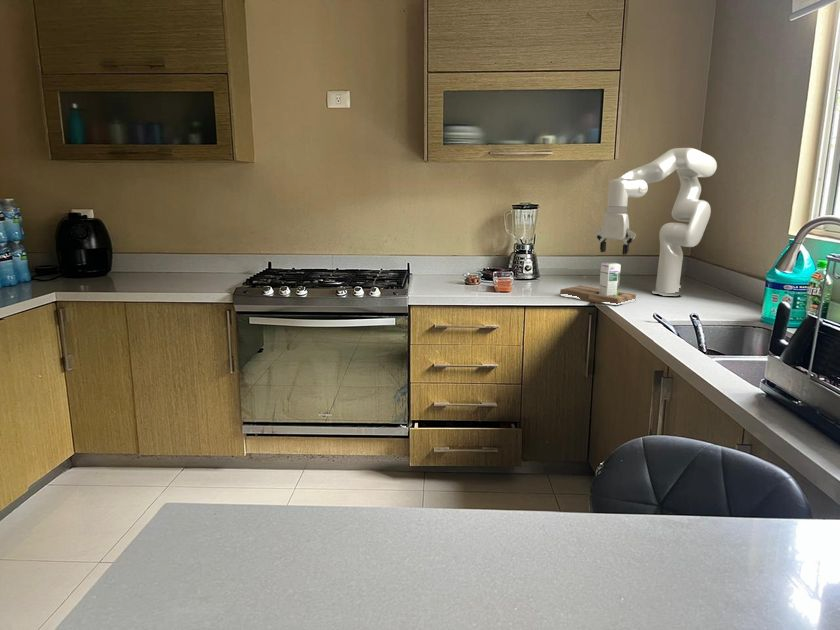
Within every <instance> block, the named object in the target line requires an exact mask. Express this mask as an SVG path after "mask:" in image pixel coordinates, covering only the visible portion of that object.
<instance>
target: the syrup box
mask: <svg viewBox="0 0 840 630" xmlns="http://www.w3.org/2000/svg"><path fill="white" fill-rule="evenodd" d="M621 267H622V265H621V263H617V262H601V264H600V276H599V285H598V288H599V294H601V295H607V296H613V297H614V296H618V293H619V292H620V279H621Z"/></svg>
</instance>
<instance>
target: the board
mask: <svg viewBox="0 0 840 630" xmlns="http://www.w3.org/2000/svg"><path fill="white" fill-rule="evenodd" d="M560 294H568V295H572V296H577V297H579V298H580V299H581V300H580V301H583V302H591V303H596V304H600V305H602V304H601V302H610V303H616V304H618V303H621V302H625V301H628V300H632V299H635V298H636V297H637V293H636V294H635V293H630V292H624V291H619V293H618V296H614V297H613V296H607V295H601V294H599V287H593V286H586V285H581V284H579V285H575V286H570V287H566V288H561V289H560V293H559V295H560ZM635 300H636V299H635Z"/></svg>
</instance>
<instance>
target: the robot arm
mask: <svg viewBox="0 0 840 630" xmlns="http://www.w3.org/2000/svg"><path fill="white" fill-rule="evenodd" d="M717 168H718V164H717V161H716V159H715V158H714V157H713V156H711V155H710V154H707V153H705V152H703V151H701V150H699V149H696V148H693V147H679V148H678V147H675V148H670V149H669V150H668V151H666V152H664V153H663V154H661V155H660V156H659V157H657V158H656V159H654V160H653V161H651V162H648V163H646V164H643V165H640V166H639V167H636V168H633V169H631V170H629V171H626V172H625V173H624V174H622V175H620V176H619V177H617V178H615V179H611V180H610V181H609V183H608V195H607V196H608V197H607V206H606V207H604V211H606V213H604V215H603V220H602V225H601V228H599V229H597V230H595V232H594V233H595V236H596V238H597V240H598V241H599V243H600V246H599V250H600V253H605V252H607V242H606V241H607V240H620V241H622V242H623V243H624V244H623V246H622V255H628V253H629V249H630V245H631V244H632V243H633V242H634V240H635V239H636V236H637V234H636V233H635V232H634V231H632V230H630V219H629V214H628V199H629V198H637V199H638V198H642V197H643V196H645V195H646V194H647V192H648V189H649V187H648V184H653V183H656V182H657V183H658V182H661V181H663V180H664V179H665V178H667V177H668V176H670V175H671V174H673V173H674V172H675V171H676V173H677V175H678V178H679V181H680V188H679V191H678V193H677V196H676V199H675V202H674V204H673V208H672V210H671V217H672V218H673V219H674V221H678V222H667V223H664V224H663V225H662V226H661V227H660V230H659V234H658V235H659V257H658V266H657V272H656V273H657V274H656V275H657V276H656V281H655V282H656V283H655V290H656V291H658V292H665V293H675V292H680V289H681V286H682V285H680V283H681V277H682V267H683V259H684V253H683V252H684V251H683V250H682V247H686V248H693V247H695V246H698V245H699V243H700V242H701V240H702V238H703V236H704V233H705V230H706V228H707V225H708V223H709V220H710V217H711V212H712V209H711V205H710V204H709V202H708V201H706V200H704V199H700V196H701V193H702V185H701V183H700V181H699V178H708V177H711V176H713V175H714V174H715V173H716V170H717ZM683 222H687V223H683ZM629 236H630V237H629ZM679 288H680V289H679Z"/></svg>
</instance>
